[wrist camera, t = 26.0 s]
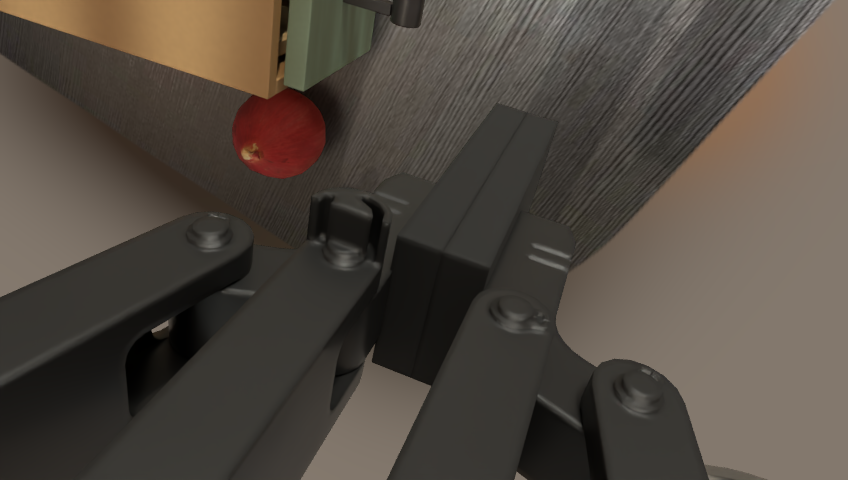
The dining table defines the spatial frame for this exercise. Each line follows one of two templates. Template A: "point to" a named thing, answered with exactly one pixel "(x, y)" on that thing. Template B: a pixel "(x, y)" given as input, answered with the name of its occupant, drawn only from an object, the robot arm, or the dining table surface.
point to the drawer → (333, 34)
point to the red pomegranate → (279, 134)
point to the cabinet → (178, 34)
